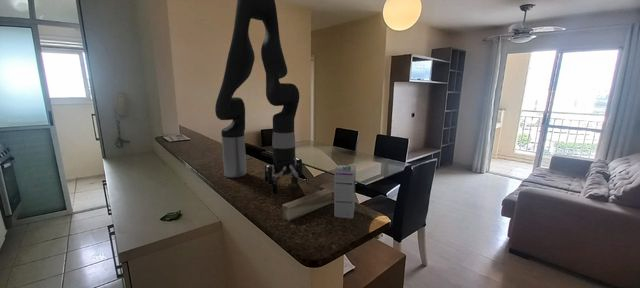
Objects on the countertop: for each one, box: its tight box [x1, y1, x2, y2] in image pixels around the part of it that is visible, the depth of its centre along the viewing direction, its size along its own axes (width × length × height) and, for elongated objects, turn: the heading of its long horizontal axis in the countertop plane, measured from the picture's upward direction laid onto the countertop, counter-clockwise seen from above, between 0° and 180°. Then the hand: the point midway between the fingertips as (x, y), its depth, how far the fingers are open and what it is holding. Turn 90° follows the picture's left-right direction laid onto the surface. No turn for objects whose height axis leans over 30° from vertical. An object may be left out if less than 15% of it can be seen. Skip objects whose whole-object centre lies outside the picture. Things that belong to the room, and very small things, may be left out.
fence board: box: [281, 188, 333, 222], centre depth 82 cm, size 3×18×4 cm, turn 135°
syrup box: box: [333, 164, 356, 220], centre depth 79 cm, size 6×6×14 cm
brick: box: [287, 183, 306, 202], centre depth 87 cm, size 11×4×5 cm, turn 17°
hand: (284, 191), depth 91 cm, fingers open, 8 cm apart
